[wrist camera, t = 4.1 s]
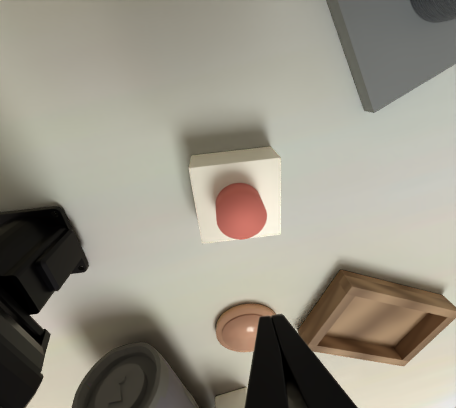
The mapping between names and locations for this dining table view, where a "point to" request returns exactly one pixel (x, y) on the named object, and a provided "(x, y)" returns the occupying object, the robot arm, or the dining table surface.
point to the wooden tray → (375, 319)
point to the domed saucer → (240, 326)
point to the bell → (435, 10)
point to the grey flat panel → (391, 47)
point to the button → (240, 211)
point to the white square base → (229, 174)
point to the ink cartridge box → (232, 399)
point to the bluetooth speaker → (132, 381)
